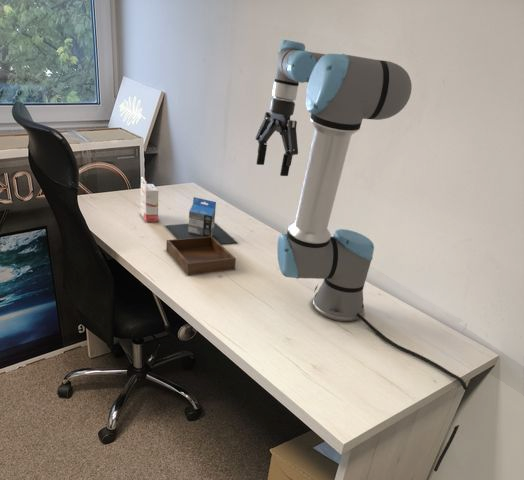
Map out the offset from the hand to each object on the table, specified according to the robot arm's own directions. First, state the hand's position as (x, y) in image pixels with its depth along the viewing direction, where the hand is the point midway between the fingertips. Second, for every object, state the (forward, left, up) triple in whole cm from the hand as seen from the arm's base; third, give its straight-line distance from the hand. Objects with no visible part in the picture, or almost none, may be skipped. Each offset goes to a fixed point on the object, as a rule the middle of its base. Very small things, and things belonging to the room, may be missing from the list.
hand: (271, 170), depth 160 cm
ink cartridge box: (+34, +31, -28) cm, 53 cm away
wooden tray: (-5, +27, -27) cm, 38 cm away
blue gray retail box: (+15, +18, -27) cm, 36 cm away
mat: (+15, +18, -27) cm, 36 cm away
